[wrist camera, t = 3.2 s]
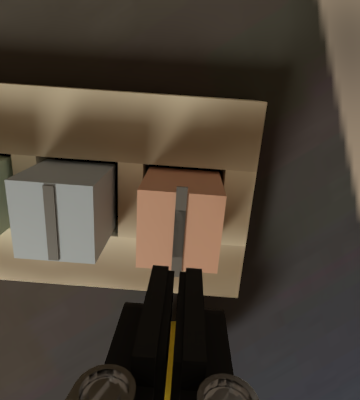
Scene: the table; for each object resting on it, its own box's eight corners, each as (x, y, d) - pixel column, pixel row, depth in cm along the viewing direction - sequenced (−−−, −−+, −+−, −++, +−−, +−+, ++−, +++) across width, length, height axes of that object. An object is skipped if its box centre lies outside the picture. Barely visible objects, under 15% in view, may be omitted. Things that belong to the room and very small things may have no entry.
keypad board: (-79, 76, 19) (-117, 75, 16) (257, 100, 19) (267, 102, 16) (-44, 254, 23) (-71, 273, 20) (232, 276, 23) (237, 298, 20)
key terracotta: (150, 161, 18) (137, 183, 14) (219, 166, 18) (227, 190, 14) (147, 233, 20) (135, 273, 15) (211, 238, 20) (216, 280, 15)
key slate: (46, 159, 18) (3, 180, 14) (115, 164, 18) (92, 186, 14) (51, 222, 20) (13, 259, 15) (115, 227, 20) (94, 265, 15)
